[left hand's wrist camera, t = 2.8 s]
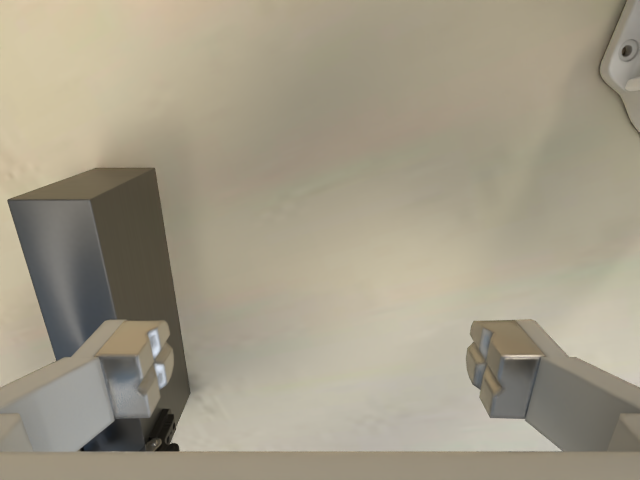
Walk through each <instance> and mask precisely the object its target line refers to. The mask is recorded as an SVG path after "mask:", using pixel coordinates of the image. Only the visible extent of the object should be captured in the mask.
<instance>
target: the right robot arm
mask: <svg viewBox="0 0 640 480" xmlns="http://www.w3.org/2000/svg"><path fill="white" fill-rule="evenodd" d="M175 430H176V423H175V417H174V414H172V412H171V409H163V410H162V412H161V414H160V416H159V418H158V420H157V422H156V424H155V426H154V428H153V430H152V432H151V434H150V436H149V440H150V441H149V442H148V443H147V444H146V445H145V446H144V447H143V448H142V449H141V450H140V451H139V452H179V446H178V444H176V443H172V444H170V442H171V440H172V437H173V435H174V433H175ZM77 452H84V449H83V447H82V448H81V449H79V450H78V451H77Z"/></svg>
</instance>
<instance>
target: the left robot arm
mask: <svg viewBox="0 0 640 480" xmlns="http://www.w3.org/2000/svg"><path fill="white" fill-rule="evenodd" d="M624 47H625V48H626V52H625V54H624V55H622V49H623V48H624ZM600 75H601V77H602V79H603V80H604V81H605V82H606V83H607V84H608V85H609V86H610V87H611V88H612V89H613V90H614V91H616V92H617V93H618V94H619V95H620V97H621V98H622V100H623V103H624V105H625V108H626V111H627V114H628V116H629V118H630V120H631V122H632V124H633V125H634V127H635V128H636V129H637V131H638V132H639V133H640V0H627V2H626V4H625V7H624V9H623V11H622V14H621V16H620V19H619V21H618V23H617V26H616V28H615V30H614V33H613V35H612V38H611V40H610V42H609V45H608V47H607V50H606V52H605V54H604V57H603V59H602V62H601V65H600ZM169 336H170V331H169V326H168V323H167V322H166V321H165V320H126V319H120V320H106V321H104V322H103V323H102V324H101V325H100V327H99V328H98V329H97V330H96V331H95V332H94V333H93V334H92V335H91V336H90V337H89V338H88V339H87V340H86V341H85V343H84V344H83V345H82V346H81V347H80V348H79V349H78V350H77V351H76V352H75V353H74V354H73V355H72V356H71V357H64V358H62V359H60V360H58V361H55V362H53V363H51V364H49V365H47V366H45V367H43V368H41V369H39V370H36V371H34V372H32V373H30V374H28V375H26V376H24V377H22V378H20V379H17V380H15V381H13V382H11V383H9V384H7V385H5V386H3V387H1V388H0V480H640V388H639V387H637V386H635V385H633V384H631V383H629V382H627V381H625V380H622V379H620V378H618V377H616V376H614V375H612V374H610V373H608V372H606V371H603V370H601V369H599V368H597V367H595V366H593V365H591V364H589V363H587V362H585V361H582V360H580V359H578V358H576V357H569V356H568V355H567V354H566V353H565V352H564V351H563V350H562V349H561V348H560V347H559V346H558V345H557V344H556V343H555V341H554V340H553V339H552V338H551V337H550V336H549V335H548V334H547V333H546V332H545V331H544V330H543V329H542V328H541V326H540V325H539V324H538V323H537V322H536V321H534V320H531V319H524V320H496V321H474V322H473V324H472V326H471V330H470V336H471V337H472V339H473V341H474V342H473V343H472V344H471V345H470V346H469V347H468V348H467V355H466V365H467V372H468V375H469V378H470V380H471V382H472V384H473V385H474V386H476V387H477V388H479V389H480V390H481V391H480V397H479V398H480V400H481V401H482V403H483V405H484V407H485V409H486V411H487V413H488V415H489V417H490V418H514V419H525V421H526V422H528V423H529V424H530V425H531V426H533V427H534V428H535V429H536V430H538V431H539V432H540V433H541V434H542V435H544V436H545V437H546V438H547V439H549V440H550V441H551V442H552V443H553V444H555V445H556V446H557V447H558V448H560V449H561V450H562V451H563V452H77V451H78V450H79V449H81V448H82V447H83V446H84V445H85V444H87V443H88V442H89V441H90V440H92V439H93V438H94V437H95V436H97V435H98V434H99V433H100V432H101V431H103V430H104V429H105V428H106V427H108V426H109V425H110V424H111V423H112V422H114V421H115V419H125V418H150V417H151V415H152V413H153V411H154V409H155V407H156V405H157V403H158V401H159V399H160V398H161V397H160V391H159V390H160V389H161V388H163V387H164V386H166V385H167V384H168V382H169V380H170V378H171V375H172V371H173V366H174V354H173V348H172V347H171V346H170V345H169V344H168V343H167V342H166V341H167V339H168V337H169Z"/></svg>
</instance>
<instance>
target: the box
mask: <svg viewBox="0 0 640 480" xmlns="http://www.w3.org/2000/svg"><path fill="white" fill-rule="evenodd" d="M7 201H8V205H9V208H10V211H11V214H12V218H13V221H14V224H15V227H16V231H17V234H18V237H19V240H20V244H21V247H22V250H23V253H24V257H25V260H26V263H27V266H28V270H29V273H30V276H31V279H32V283H33V286H34V289H35V292H36V296H37V299H38V302H39V305H40V309H41V312H42V315H43V319H44V322H45V325H46V328H47V332H48V335H49V338H50V341H51V345H52V348H53V351H54V354H55V358H56V361H58V360H60V359H62V358H64V357H71V356H72V355H73V354H74V353H75V352H76V351H77V350H78V349H79V348H80V347H81V346H82V345H83V344H84V343H85V341H86V340H87V339H88V338H89V337H90V336H91V335H92V334H93V333H94V332H95V331H96V330H97V329H98V328H99V327H100V325H101V324H102V323H103V322H104V321H106V320H120V319H126V320H165V321H166V322H167V323H168V326H169V331H170V336H169V337H168V339H167V341H166V342H167V343H168V344H169V345H170V346H171V347H172V348H173V354H174V366H173V371H172V375H171V378H170V380H169V382H168V384H167V385H166V386H164V387H163V388H161V389H160V390H159V391H160V397H161V398H160V399H159V401H158V403H157V405H156V407H155V409H154V411H153V413H152V415H151V417H150V418H125V419H115V421H114V422H112V423H111V424H110V425H109V426H108V427H106V428H105V429H104V430H103V431H101V432H100V433H99V434H98V435H97V436H95V437H94V438H93V439H92V440H90V441H89V442H88V443H87V444H85V445H84V446H83V449H84V452H139V451H140V450H141V449H142V448H143V447H144V446H145V445H146V444H147V443H148V442H149V441H150V440H149V436H150V434H151V432H152V430H153V428H154V426H155V424H156V422H157V420H158V418H159V416H160V414H161V412H162V410H163V409H171V412H172V414H174V417H175V423H176V426H177V423H178V421H179V419H180V416H181V414H182V412H183V409H184V407H185V405H186V402H187V400H188V398H189V395H190V388H189V382H188V375H187V369H186V363H185V356H184V350H183V344H182V337H181V331H180V325H179V318H178V312H177V306H176V299H175V293H174V287H173V280H172V274H171V268H170V261H169V255H168V249H167V242H166V236H165V230H164V223H163V217H162V211H161V204H160V198H159V192H158V185H157V179H156V173H155V168H95V169H92V170H89V171H86V172H83V173H81V174H78V175H75V176H72V177H69V178H67V179H64V180H61V181H58V182H55V183H53V184H50V185H47V186H44V187H41V188H39V189H36V190H33V191H30V192H28V193H25V194H22V195H19V196H16V197H14V198H11V199H8V200H7Z"/></svg>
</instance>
